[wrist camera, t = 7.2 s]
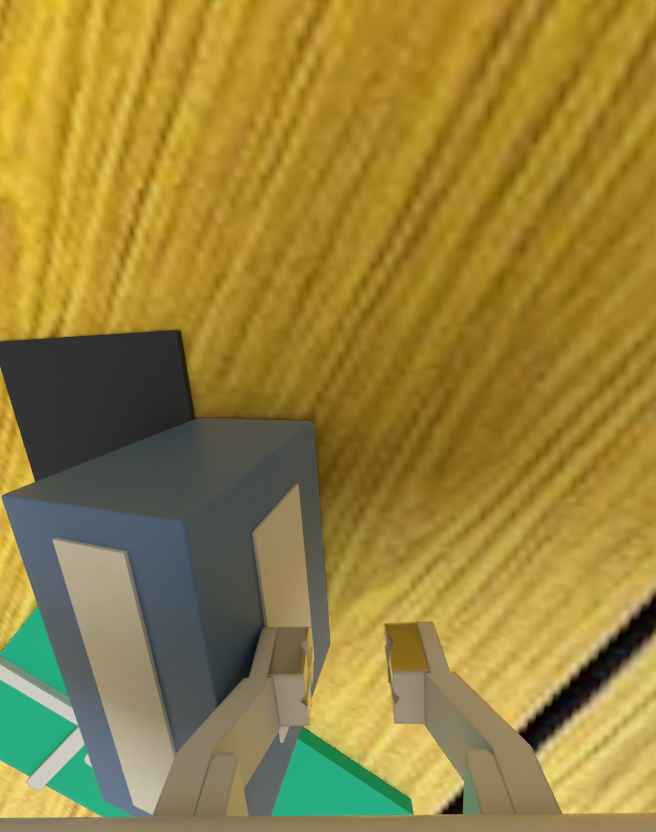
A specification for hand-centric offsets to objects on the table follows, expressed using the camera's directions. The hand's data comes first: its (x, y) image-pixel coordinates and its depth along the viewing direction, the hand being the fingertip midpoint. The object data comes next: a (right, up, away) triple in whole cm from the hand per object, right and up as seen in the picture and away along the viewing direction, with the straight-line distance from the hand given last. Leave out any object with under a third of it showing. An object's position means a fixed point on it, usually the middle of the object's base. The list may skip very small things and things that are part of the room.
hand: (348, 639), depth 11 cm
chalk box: (-4, +1, +6) cm, 7 cm away
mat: (-11, +1, +7) cm, 13 cm away
